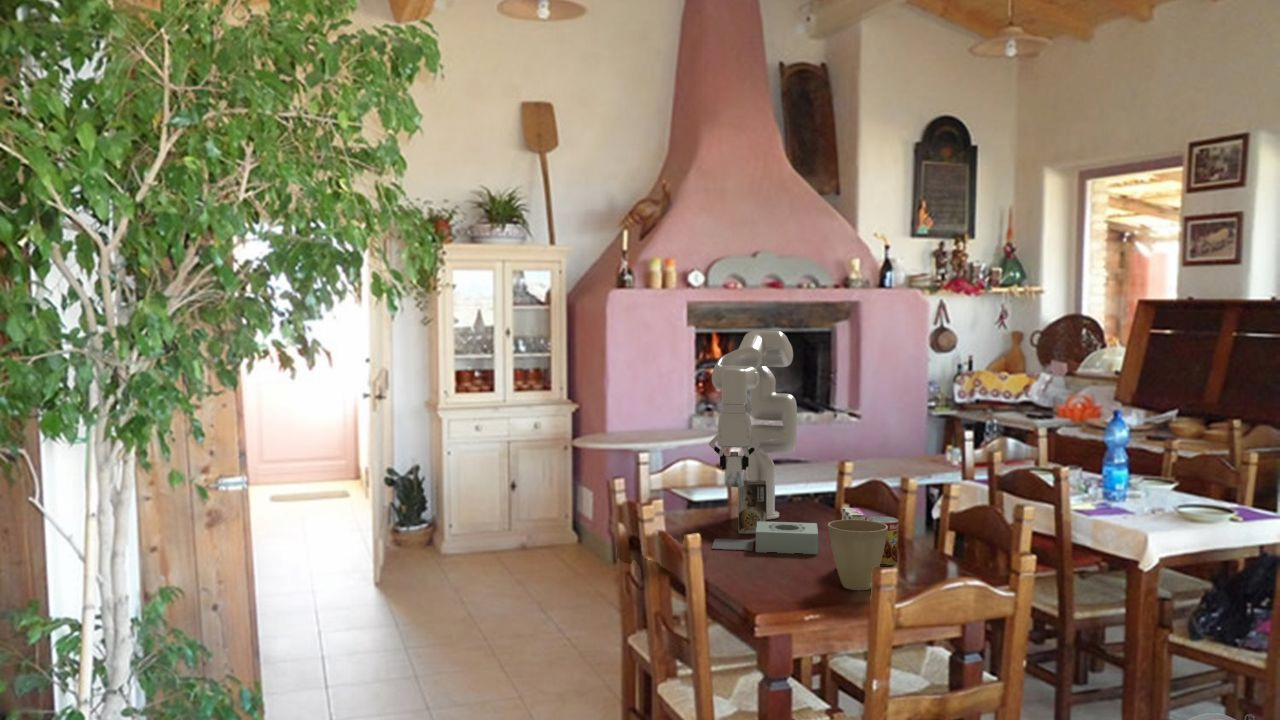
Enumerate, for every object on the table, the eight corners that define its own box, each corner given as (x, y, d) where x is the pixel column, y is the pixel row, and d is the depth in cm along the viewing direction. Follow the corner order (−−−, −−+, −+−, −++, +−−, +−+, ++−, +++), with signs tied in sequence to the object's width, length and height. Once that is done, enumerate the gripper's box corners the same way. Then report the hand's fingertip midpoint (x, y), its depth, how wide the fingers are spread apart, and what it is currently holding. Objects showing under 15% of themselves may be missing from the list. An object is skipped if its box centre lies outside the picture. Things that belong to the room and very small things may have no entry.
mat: (714, 539, 294) (714, 538, 294) (753, 541, 292) (753, 540, 292) (711, 549, 282) (711, 548, 282) (752, 551, 281) (752, 549, 280)
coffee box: (766, 529, 308) (766, 480, 307) (766, 534, 302) (767, 483, 301) (737, 528, 309) (738, 479, 308) (738, 533, 303) (738, 483, 302)
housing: (757, 540, 293) (757, 521, 293) (816, 542, 290) (816, 523, 290) (755, 552, 279) (755, 531, 279) (818, 554, 277) (818, 533, 276)
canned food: (898, 565, 264) (899, 522, 264) (869, 564, 266) (870, 521, 265) (896, 558, 272) (897, 516, 271) (868, 557, 273) (868, 515, 273)
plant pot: (899, 588, 243) (900, 526, 242) (859, 598, 234) (860, 534, 233) (854, 575, 255) (855, 516, 254) (815, 584, 246) (815, 523, 246)
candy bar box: (866, 576, 254) (867, 515, 253) (847, 576, 254) (848, 515, 253) (858, 565, 265) (859, 506, 264) (840, 565, 265) (840, 506, 264)
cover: (725, 483, 290) (725, 450, 289) (744, 483, 289) (744, 450, 288) (723, 486, 284) (724, 453, 283) (743, 487, 283) (743, 453, 283)
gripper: (763, 408, 288) (763, 467, 289) (706, 407, 290) (706, 466, 291) (763, 411, 280) (762, 472, 281) (704, 410, 283) (704, 470, 284)
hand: (734, 468), depth 286 cm, fingers closed on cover, 5 cm apart
